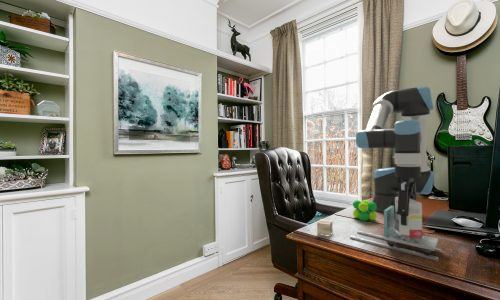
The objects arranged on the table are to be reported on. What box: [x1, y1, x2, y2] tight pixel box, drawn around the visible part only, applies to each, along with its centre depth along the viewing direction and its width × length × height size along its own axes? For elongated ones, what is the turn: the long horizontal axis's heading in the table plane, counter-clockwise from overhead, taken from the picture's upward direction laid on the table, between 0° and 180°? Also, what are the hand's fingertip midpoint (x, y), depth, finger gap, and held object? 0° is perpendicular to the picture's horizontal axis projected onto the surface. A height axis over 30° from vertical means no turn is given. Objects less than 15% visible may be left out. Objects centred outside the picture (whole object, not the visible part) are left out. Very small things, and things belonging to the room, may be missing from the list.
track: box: [349, 230, 442, 262], centre depth 85 cm, size 9×27×1 cm, turn 45°
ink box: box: [394, 197, 423, 238], centre depth 81 cm, size 9×5×12 cm, turn 173°
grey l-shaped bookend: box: [383, 206, 439, 255], centre depth 81 cm, size 10×14×12 cm
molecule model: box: [352, 199, 378, 222], centre depth 116 cm, size 9×9×9 cm
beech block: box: [316, 218, 334, 237], centre depth 97 cm, size 5×5×5 cm
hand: (408, 230), depth 81 cm, fingers closed on ink box, 9 cm apart
